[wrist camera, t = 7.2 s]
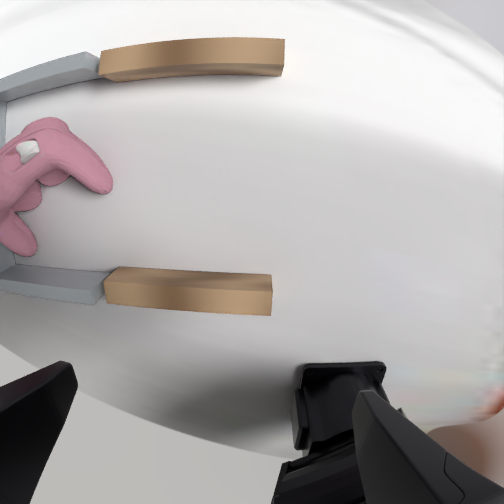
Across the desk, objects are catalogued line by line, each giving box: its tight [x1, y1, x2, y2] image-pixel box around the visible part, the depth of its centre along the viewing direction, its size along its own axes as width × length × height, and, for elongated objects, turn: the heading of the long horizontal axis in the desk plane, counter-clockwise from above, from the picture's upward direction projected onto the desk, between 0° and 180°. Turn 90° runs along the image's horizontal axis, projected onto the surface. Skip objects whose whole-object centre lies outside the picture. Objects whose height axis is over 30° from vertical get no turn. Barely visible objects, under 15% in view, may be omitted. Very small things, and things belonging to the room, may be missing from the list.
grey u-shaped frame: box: [0, 52, 111, 306], centre depth 17 cm, size 10×15×3 cm
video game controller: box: [0, 117, 113, 257], centre depth 16 cm, size 10×5×7 cm, turn 119°
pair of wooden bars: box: [99, 37, 285, 316], centre depth 17 cm, size 10×15×2 cm, turn 178°
